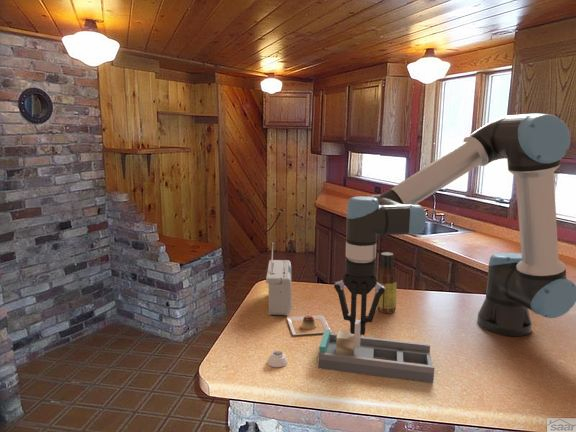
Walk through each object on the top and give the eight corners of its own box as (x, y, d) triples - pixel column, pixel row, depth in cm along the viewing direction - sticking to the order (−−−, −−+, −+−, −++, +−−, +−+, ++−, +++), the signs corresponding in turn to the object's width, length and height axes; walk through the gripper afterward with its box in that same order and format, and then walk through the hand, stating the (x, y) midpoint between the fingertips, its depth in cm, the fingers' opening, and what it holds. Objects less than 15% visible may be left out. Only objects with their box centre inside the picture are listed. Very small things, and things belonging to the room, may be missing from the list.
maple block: (354, 347, 115) (355, 331, 114) (353, 355, 111) (354, 339, 110) (338, 345, 116) (338, 330, 115) (336, 353, 112) (336, 337, 111)
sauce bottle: (398, 309, 146) (401, 252, 142) (392, 315, 141) (395, 257, 137) (379, 305, 150) (382, 249, 146) (373, 311, 145) (375, 254, 141)
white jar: (276, 356, 116) (263, 364, 112) (276, 346, 115) (263, 353, 111) (290, 362, 113) (278, 370, 109) (291, 352, 112) (278, 360, 108)
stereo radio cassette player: (291, 317, 140) (291, 258, 136) (265, 317, 140) (265, 258, 136) (291, 293, 160) (291, 241, 156) (269, 293, 160) (269, 241, 156)
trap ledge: (428, 357, 115) (430, 338, 114) (433, 382, 104) (434, 362, 103) (325, 345, 121) (325, 327, 120) (318, 368, 110) (318, 348, 109)
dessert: (332, 335, 129) (332, 320, 128) (292, 338, 127) (292, 323, 126) (322, 318, 140) (322, 304, 139) (286, 320, 138) (286, 306, 137)
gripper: (387, 256, 110) (382, 341, 115) (336, 252, 113) (334, 335, 118) (386, 264, 103) (382, 355, 108) (332, 261, 106) (330, 349, 110)
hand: (357, 345), depth 113 cm, fingers closed
